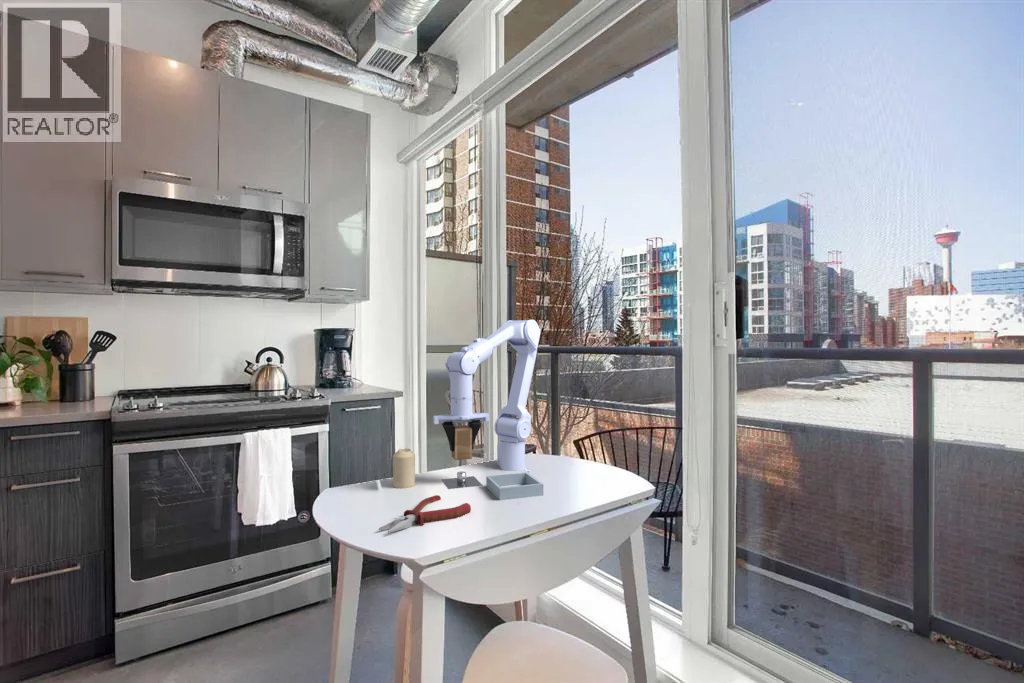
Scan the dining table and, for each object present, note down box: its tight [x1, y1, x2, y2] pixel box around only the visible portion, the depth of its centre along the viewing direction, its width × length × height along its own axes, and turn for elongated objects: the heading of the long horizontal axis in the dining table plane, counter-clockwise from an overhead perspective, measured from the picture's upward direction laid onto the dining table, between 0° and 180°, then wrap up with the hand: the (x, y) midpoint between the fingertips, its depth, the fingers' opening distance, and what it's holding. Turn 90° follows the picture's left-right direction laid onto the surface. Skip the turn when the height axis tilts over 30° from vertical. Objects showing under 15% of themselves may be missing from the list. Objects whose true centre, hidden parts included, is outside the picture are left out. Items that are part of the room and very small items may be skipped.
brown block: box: [451, 424, 473, 461], centre depth 130 cm, size 4×4×8 cm
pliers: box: [378, 494, 472, 534], centre depth 105 cm, size 12×20×3 cm, turn 143°
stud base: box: [441, 471, 484, 490], centre depth 130 cm, size 9×9×3 cm
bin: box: [485, 471, 544, 501], centre depth 122 cm, size 11×11×4 cm
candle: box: [392, 448, 416, 489], centre depth 127 cm, size 6×6×10 cm
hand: (461, 449), depth 130 cm, fingers closed on brown block, 4 cm apart
